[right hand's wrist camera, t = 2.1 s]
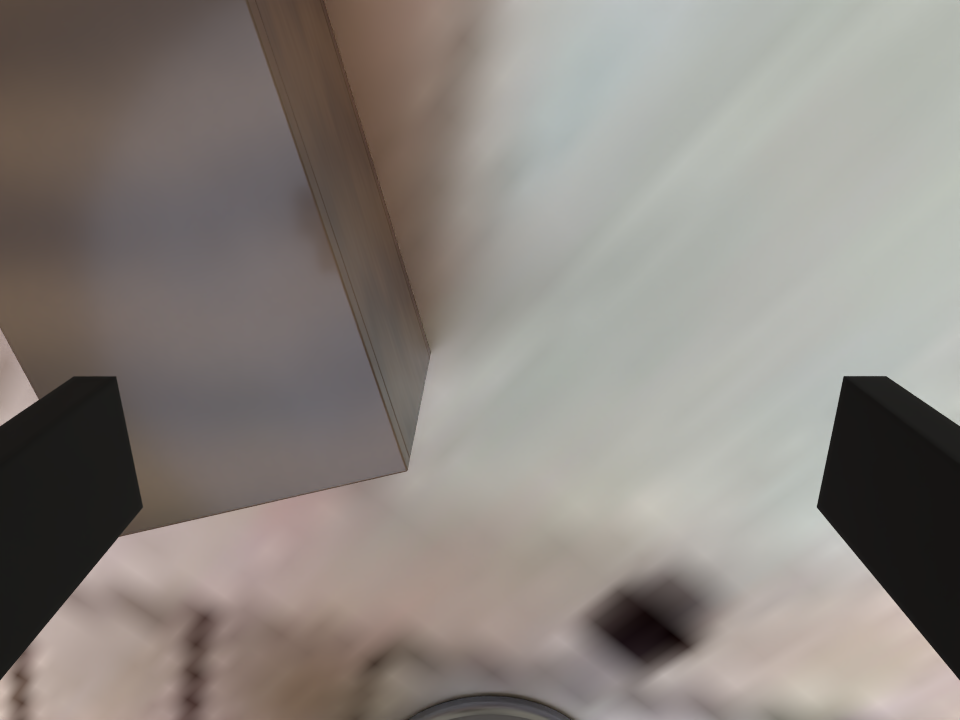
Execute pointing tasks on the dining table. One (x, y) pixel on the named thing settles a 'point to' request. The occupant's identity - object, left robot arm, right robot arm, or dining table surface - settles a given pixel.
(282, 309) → the large taupe box
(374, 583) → the dining table surface
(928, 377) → the dining table surface
